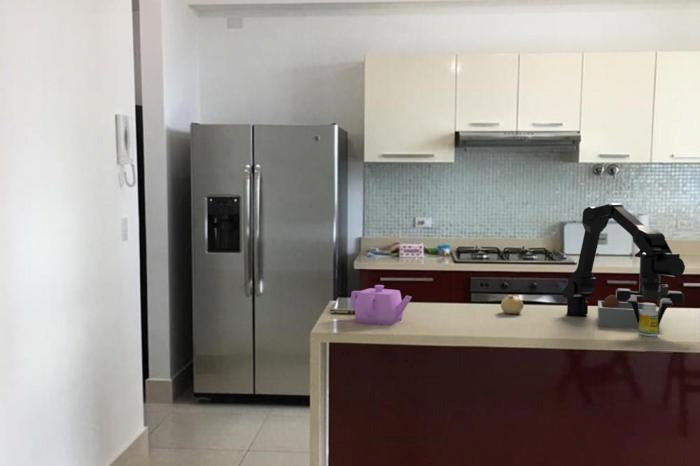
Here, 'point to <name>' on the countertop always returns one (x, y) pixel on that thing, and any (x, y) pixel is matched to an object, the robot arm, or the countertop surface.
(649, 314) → the supplement bottle
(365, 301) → the teakettle
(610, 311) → the tote
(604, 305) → the coconut
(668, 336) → the countertop surface
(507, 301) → the onion
